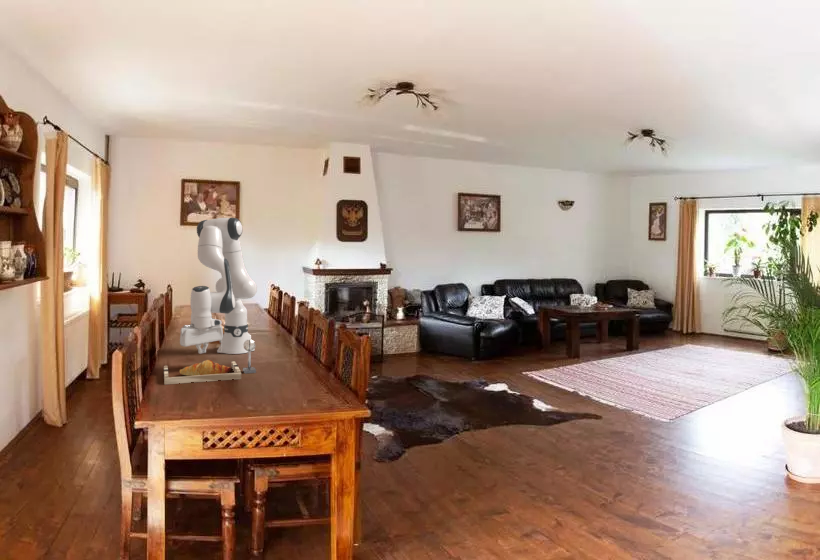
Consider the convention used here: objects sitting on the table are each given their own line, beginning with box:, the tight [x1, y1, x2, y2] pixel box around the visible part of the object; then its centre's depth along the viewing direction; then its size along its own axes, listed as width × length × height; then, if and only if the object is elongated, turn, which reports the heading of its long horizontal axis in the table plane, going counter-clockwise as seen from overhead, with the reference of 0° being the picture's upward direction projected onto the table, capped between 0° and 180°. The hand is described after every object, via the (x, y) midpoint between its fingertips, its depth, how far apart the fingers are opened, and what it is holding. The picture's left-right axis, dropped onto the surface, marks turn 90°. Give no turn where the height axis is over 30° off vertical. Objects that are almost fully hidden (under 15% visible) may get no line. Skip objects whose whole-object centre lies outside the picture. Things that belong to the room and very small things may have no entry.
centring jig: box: [163, 361, 242, 385], centre depth 249 cm, size 22×30×4 cm
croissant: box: [179, 359, 232, 376], centre depth 251 cm, size 21×10×8 cm
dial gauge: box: [242, 339, 257, 374], centre depth 258 cm, size 5×5×14 cm
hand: (202, 353), depth 260 cm, fingers closed
